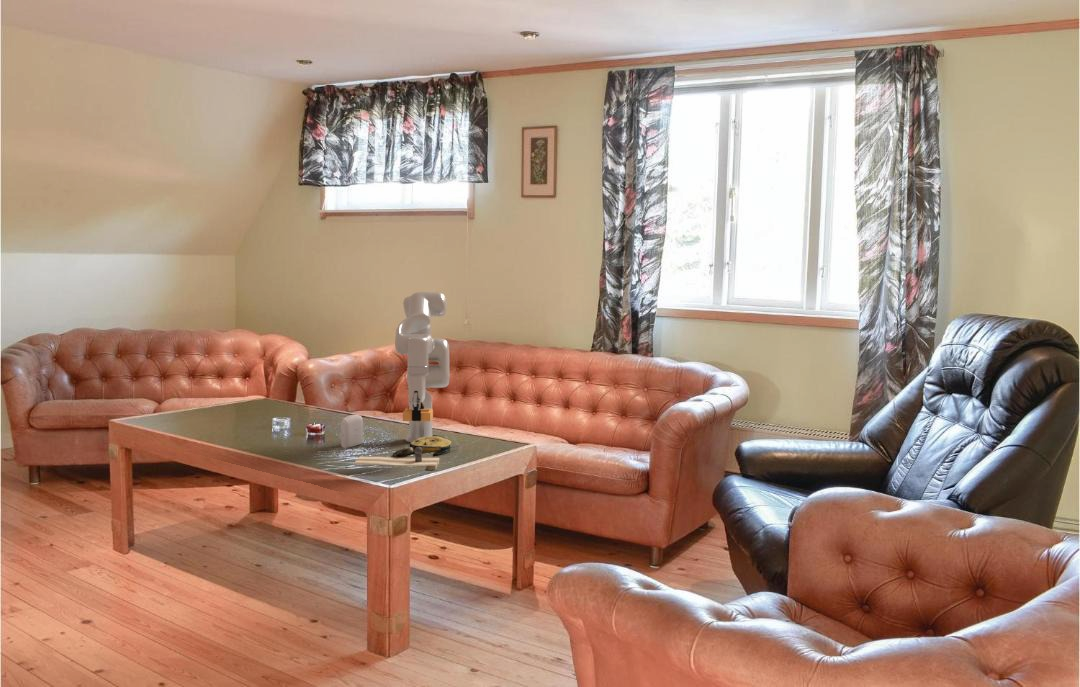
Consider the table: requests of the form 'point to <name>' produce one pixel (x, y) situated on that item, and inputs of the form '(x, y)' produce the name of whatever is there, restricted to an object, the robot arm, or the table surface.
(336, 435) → the table surface
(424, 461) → the keeper board
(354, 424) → the photo printer
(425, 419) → the link
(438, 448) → the pulley block
